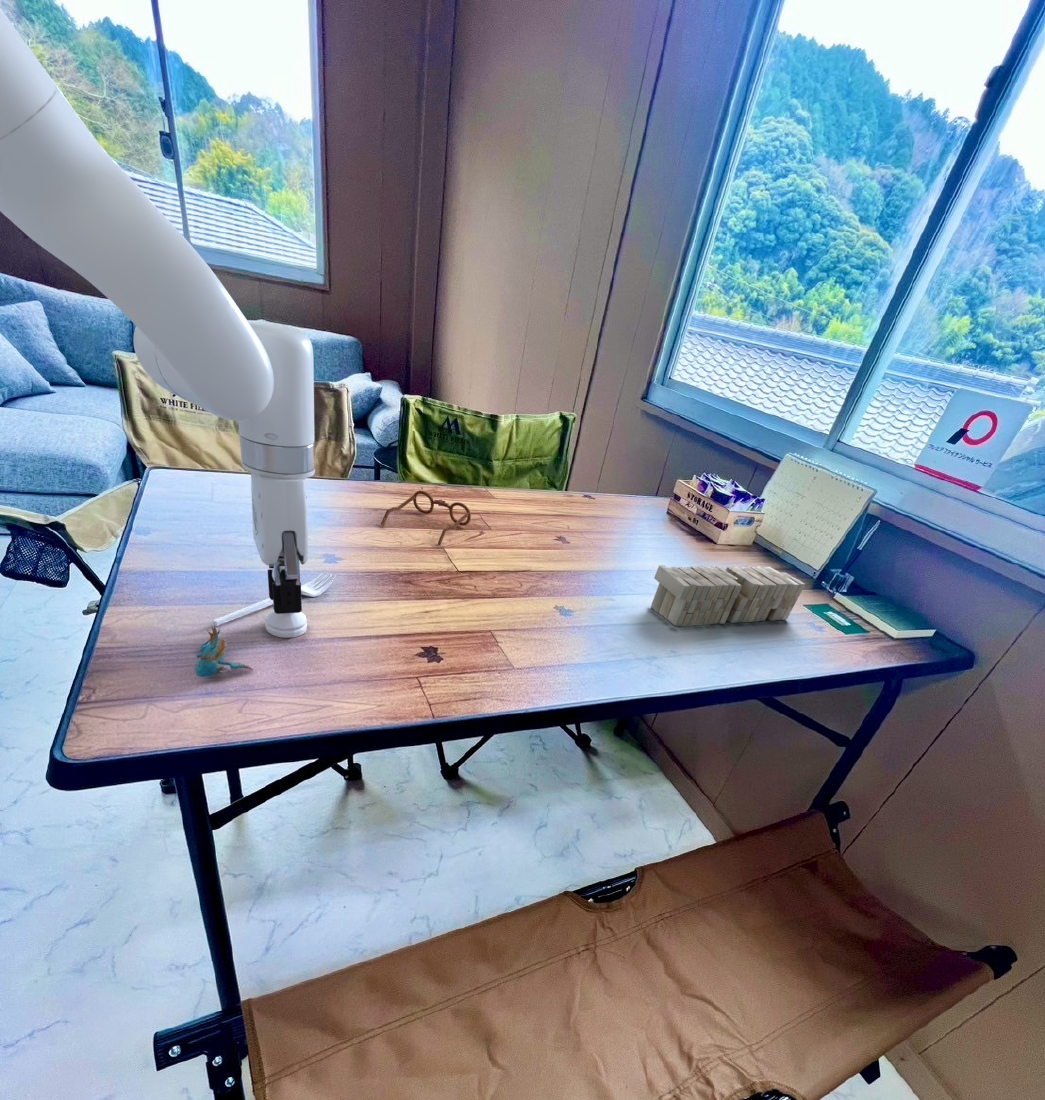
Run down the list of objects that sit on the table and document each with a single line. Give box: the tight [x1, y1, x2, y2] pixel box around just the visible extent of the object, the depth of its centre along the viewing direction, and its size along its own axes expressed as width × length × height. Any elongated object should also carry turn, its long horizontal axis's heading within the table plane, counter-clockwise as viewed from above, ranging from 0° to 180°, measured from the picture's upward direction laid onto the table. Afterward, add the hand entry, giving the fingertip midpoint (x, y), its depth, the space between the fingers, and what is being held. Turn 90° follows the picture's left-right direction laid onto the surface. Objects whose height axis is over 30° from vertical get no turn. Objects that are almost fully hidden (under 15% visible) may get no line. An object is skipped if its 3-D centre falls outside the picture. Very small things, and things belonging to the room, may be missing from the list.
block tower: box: [650, 564, 806, 627], centre depth 105 cm, size 8×8×29 cm
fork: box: [212, 569, 337, 627], centre depth 81 cm, size 3×20×2 cm, turn 150°
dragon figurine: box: [194, 625, 254, 678], centre depth 67 cm, size 7×7×8 cm
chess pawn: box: [264, 566, 308, 639], centre depth 74 cm, size 5×5×9 cm
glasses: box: [380, 490, 472, 546], centre depth 115 cm, size 13×13×5 cm
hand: (285, 604), depth 74 cm, fingers closed on chess pawn, 2 cm apart
